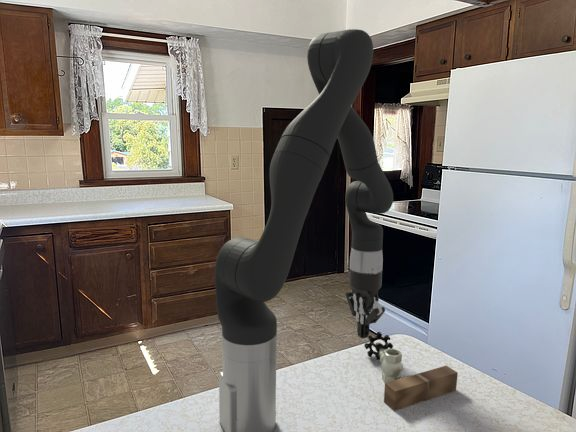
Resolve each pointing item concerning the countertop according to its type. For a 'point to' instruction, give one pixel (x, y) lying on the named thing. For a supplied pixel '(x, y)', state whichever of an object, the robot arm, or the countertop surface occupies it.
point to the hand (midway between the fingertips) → (362, 336)
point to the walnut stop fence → (420, 387)
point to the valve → (386, 357)
